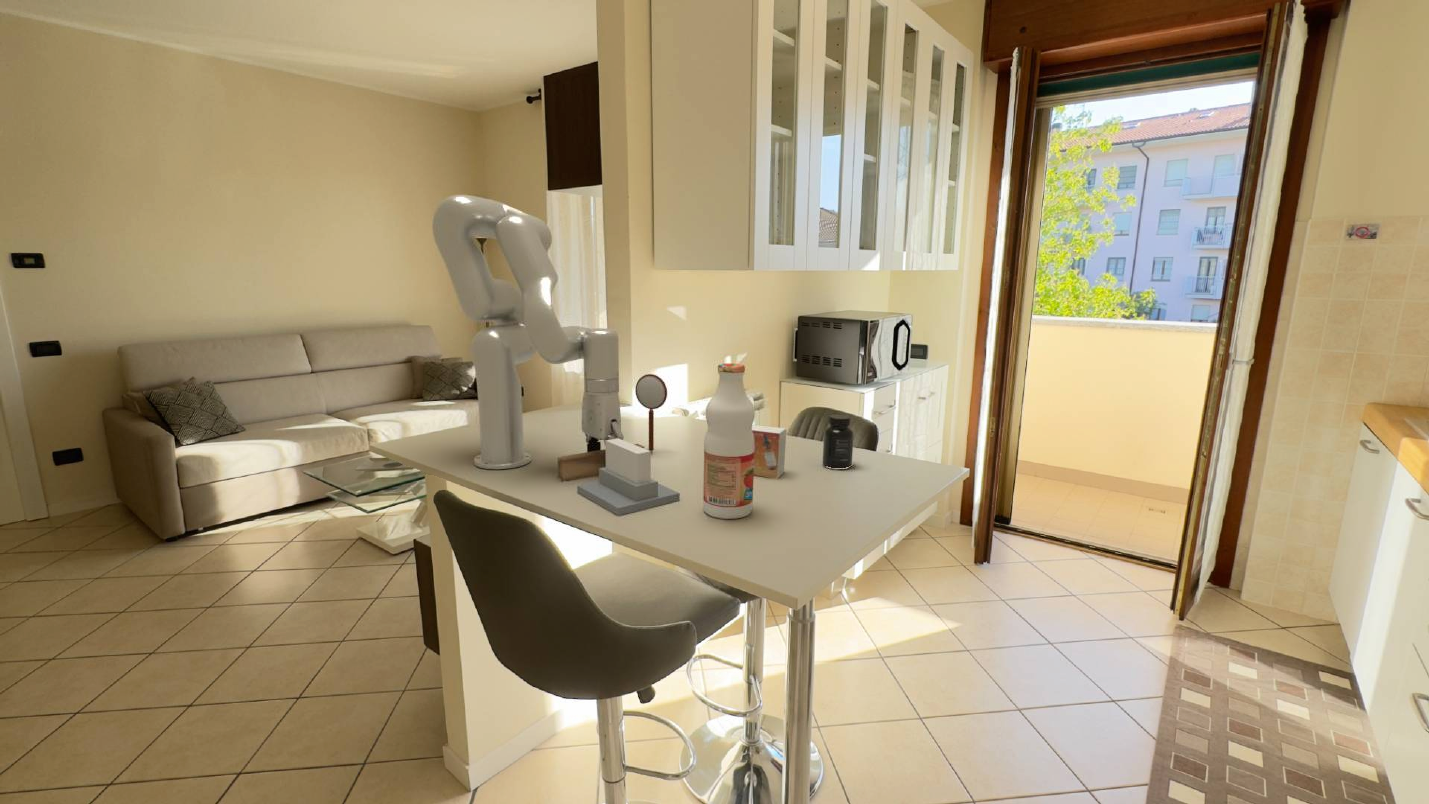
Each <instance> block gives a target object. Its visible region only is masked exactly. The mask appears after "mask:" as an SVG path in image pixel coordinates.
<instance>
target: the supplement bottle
mask: <svg viewBox="0 0 1429 804" xmlns="http://www.w3.org/2000/svg"><path fill="white" fill-rule="evenodd" d="M850 426H851V417H850V416H849V415H846V414H845V415H843V414H831V415H829V418H828V426H827V427H826V428H825V429H824V431H823V445H822V466H823V465H824V466H828V467H831V468H846V467H849V466H851V465H852V464H853V453H854V452H853V450H854V436H855V434H854V430H853V429H852V428H851V427H850ZM824 466H823V467H824ZM851 467H852V466H851Z"/></svg>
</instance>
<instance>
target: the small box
mask: <svg viewBox="0 0 1429 804" xmlns="http://www.w3.org/2000/svg"><path fill="white" fill-rule="evenodd" d="M752 432H753V435H754V442H755V450H754V476H759V477H765V478H769V479H773V478H777V479H779V477H781V476H782V475H783V473H784V472H785V461H786V457H785V456H786V444H787V442H786V440H787V428H786V427H785V428H784V427H776V426H774V427H773V426H764V425H758V424H753V425H752Z"/></svg>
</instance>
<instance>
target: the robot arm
mask: <svg viewBox="0 0 1429 804" xmlns="http://www.w3.org/2000/svg"><path fill="white" fill-rule="evenodd" d="M431 227H432V233H433V235H432V236H433V239H434V242H435V244H436V247H437V250H438V252H439V254H440V256H441V258H442V260H443V262H444V265H445V267H446V270H447V272H448V276H449V279H450V281H451V283H452V285H453V289H454V291H455V292H454V293H455V294H456V298H457V299H458V302H459V304H460V307H461V310H462V312H463V314H464V315H465V317H466V318H468V320H470V321H471V322H472V321H473V322H475V323H486V322H492V323H493V326H491V325H490V326H487V327H484V328H482V329H481V330H479V331H478V332H477V333H476V334H475V335H474V336H473V339H472V341H471V345H470V355H471V358H472V359H471V360H472V364H473V367H474V370H475V371H474V372H475V377H476V388H477V399H478V400H477V403H478V419H479V421H478V422H479V437H480V439H479V442H480V454H478V455H476V456H475V457H474V459H473V464H474V465H475V466H476V467H478V468H481V469H487V470H505V469H506V470H507V469H508V470H509V469H515V468H518V467H522V466H525V465H527V464H529V463H530V462H531V460H532V455H531V453H529V452H527V451H525V450H524V449H525V448H524V447H525V446H524V445H525V443H524V420H523V419H524V417H523V398H522V384H521V382H522V381H521V379H520V375H519V373H518V370H517V366H516V365H521V364H524V363H527V362H529V361H531V360H532V359H533V358H534V357H535V356H536V354H537V353H538V355H540V357H541V358H542V359H543V360H544V361H546V362H547V363H548V364H549V363H550V364H552V365H560V364H561V365H562V364H565V363H569V362H573V361H577V360H583V387H584V389H583V396H582V404H581V405H582V406H581V431H582V432H583V433H584V436H585V442H586V452H592V451H598V450H602V447H601V444H602V441H603V443H604V444H605V440H611V439H617V438H619V439H621V440H624V439H625V438H624V434H623V433H622V419H621V418H622V417H621V415H622V414H621V406H620V405H621V404H620V403H621V402H620V398H619V397H620V396H619V392H620V376H619V375H620V372H619V369H620V366H619V365H620V364H619V363H620V361H619V360H620V359H619V358H620V357H619V356H620V355H619V354H620V353H619V351H620V350H619V346H620V345H619V333H618V332H617V331H616V330H615V329H612V328H603V327H601V328H598V327H597V328H587V327H584V326H579V325H569V326H562V325H561V324H560V322H559V320H558V317H557V315H556V313H555V310H554V306H553V302H552V301H553V300H552V297H553V292H554V290H555V287H556V285H557V284H558V280H559V275H558V273H557V272H556V270H555V267H554V265H553V263H552V261H551V259H550V257H549V255H548V252H549V250H550V248H551V246H552V242H553V236H552V235H553V234H552V233H551V230H550V228H549V225H547V223H545V221H544V220H542V219H541V218H539V217H536V216H534V215H531V214H529V213H526V212H523V211H521V210H519V209H517V208H514V207H512V206H510V205H507V204H506V203H503V202H501V201H498V200H494V199H490V198H489V199H488V198H485V197H480V196H475V195H469V194H454V195H450V196H447V197H446V198H444V199H443V200H442V201H441V202H440V203H439V204H438V205H437V207H436V209H435V211H434V215H433V218H432V226H431ZM474 237H479V238H488V239H493V240H495V241H496V242H497V244H498V246H499V249H500V251H501V252H502V255H503V257H504V259H505V261H506V263H507V265H508V267H509V268H510V271H511V273H512V275H513V277H514V280H515V281H516V284H517V286H518V287H519V289H520V290H519V289H518V287H516V285H515V284H513V283H512V282H510V281H508V280H506V279H499V278H494V276H493V274H492V272H491V269H490V267H489V265H488V262H487V259H486V256H485V254H484V253H483V252H482V250H481V249H480V247H479V246H478V245H477V243H476V242H475V240H474ZM605 467H606V451H605Z"/></svg>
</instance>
